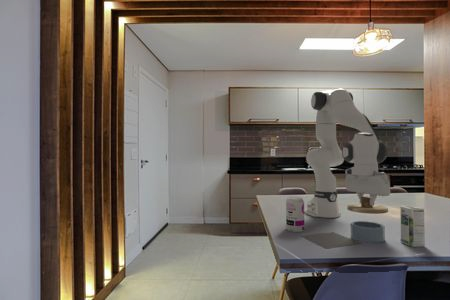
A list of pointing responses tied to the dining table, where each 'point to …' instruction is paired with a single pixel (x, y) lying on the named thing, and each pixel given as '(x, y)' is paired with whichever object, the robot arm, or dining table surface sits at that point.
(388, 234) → the dining table surface
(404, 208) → the syrup box
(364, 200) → the birch lid
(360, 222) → the slate bowl
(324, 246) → the charcoal mat
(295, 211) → the supplement can
